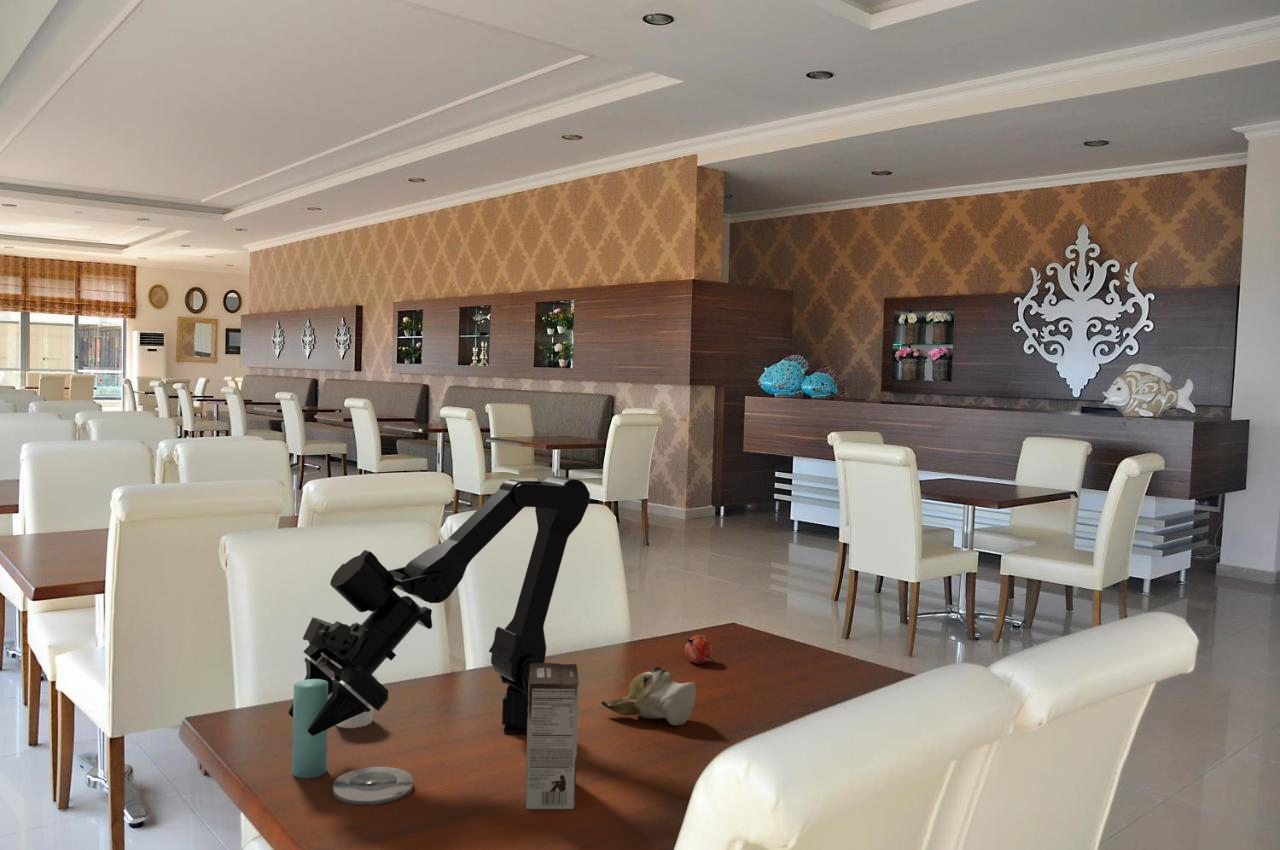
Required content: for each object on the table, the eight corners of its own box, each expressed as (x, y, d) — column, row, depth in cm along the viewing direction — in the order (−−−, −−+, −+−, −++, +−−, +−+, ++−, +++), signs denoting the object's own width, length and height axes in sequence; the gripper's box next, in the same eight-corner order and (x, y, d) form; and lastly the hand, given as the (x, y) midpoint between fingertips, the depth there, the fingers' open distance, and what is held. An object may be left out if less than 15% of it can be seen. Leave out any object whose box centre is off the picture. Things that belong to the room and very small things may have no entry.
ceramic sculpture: (676, 679, 150) (597, 667, 159) (677, 736, 150) (598, 721, 159) (711, 665, 159) (634, 654, 168) (712, 719, 159) (635, 705, 167)
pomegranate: (700, 665, 196) (672, 644, 194) (718, 643, 196) (690, 622, 194) (709, 677, 191) (680, 655, 188) (727, 654, 191) (699, 632, 189)
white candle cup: (363, 731, 149) (364, 685, 148) (321, 727, 150) (322, 681, 150) (383, 717, 155) (384, 673, 155) (343, 712, 157) (344, 669, 156)
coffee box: (526, 781, 132) (529, 662, 131) (574, 781, 132) (577, 662, 132) (524, 810, 123) (527, 682, 122) (575, 810, 123) (579, 682, 123)
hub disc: (420, 775, 133) (420, 767, 133) (402, 806, 123) (402, 798, 123) (346, 772, 133) (346, 764, 133) (322, 804, 123) (322, 795, 123)
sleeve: (330, 766, 135) (332, 679, 134) (320, 778, 130) (322, 689, 130) (298, 765, 135) (300, 678, 134) (287, 777, 130) (288, 688, 130)
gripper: (319, 584, 142) (237, 671, 136) (367, 610, 127) (277, 708, 121) (371, 632, 147) (294, 717, 140) (423, 662, 132) (339, 759, 125)
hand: (300, 724), depth 132 cm, fingers open, 8 cm apart
